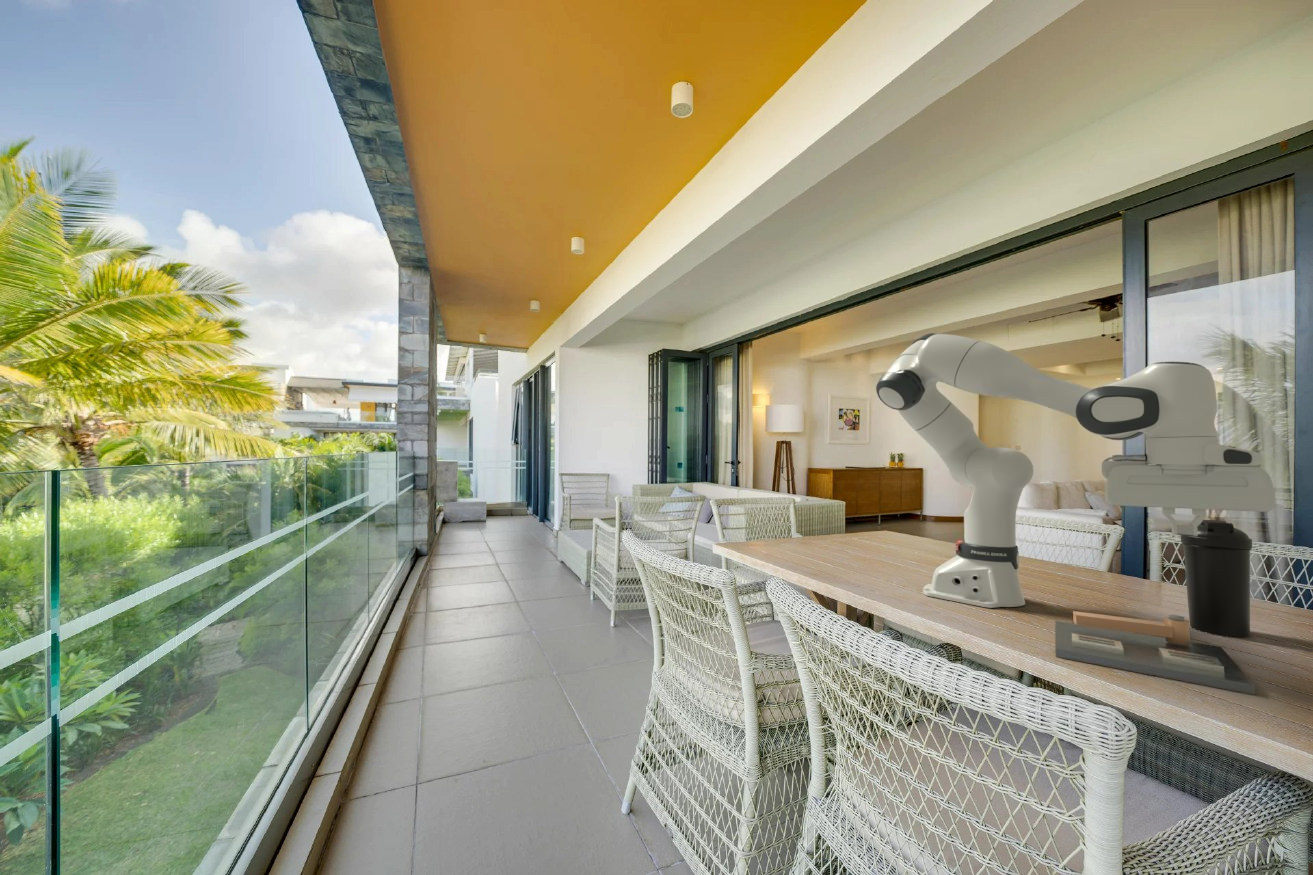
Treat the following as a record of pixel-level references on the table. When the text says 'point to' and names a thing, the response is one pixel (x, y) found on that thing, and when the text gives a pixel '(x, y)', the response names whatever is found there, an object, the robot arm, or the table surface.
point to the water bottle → (1218, 579)
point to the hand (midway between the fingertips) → (1184, 535)
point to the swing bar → (1139, 626)
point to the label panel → (1151, 656)
